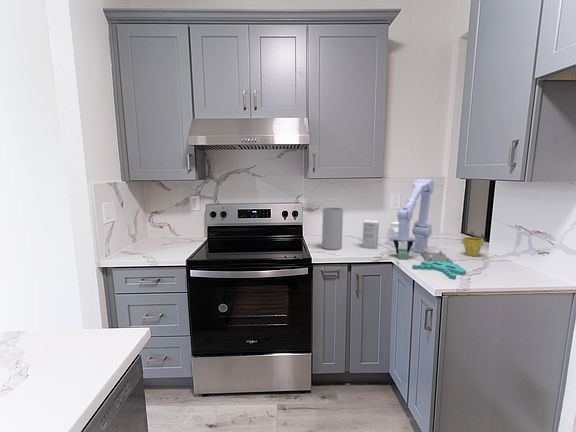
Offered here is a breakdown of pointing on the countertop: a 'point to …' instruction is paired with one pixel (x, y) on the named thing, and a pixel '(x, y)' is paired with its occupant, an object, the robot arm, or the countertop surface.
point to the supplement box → (370, 234)
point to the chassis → (435, 256)
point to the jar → (394, 234)
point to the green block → (402, 254)
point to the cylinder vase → (332, 228)
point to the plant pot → (472, 245)
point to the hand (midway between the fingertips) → (402, 253)
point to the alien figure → (441, 268)
